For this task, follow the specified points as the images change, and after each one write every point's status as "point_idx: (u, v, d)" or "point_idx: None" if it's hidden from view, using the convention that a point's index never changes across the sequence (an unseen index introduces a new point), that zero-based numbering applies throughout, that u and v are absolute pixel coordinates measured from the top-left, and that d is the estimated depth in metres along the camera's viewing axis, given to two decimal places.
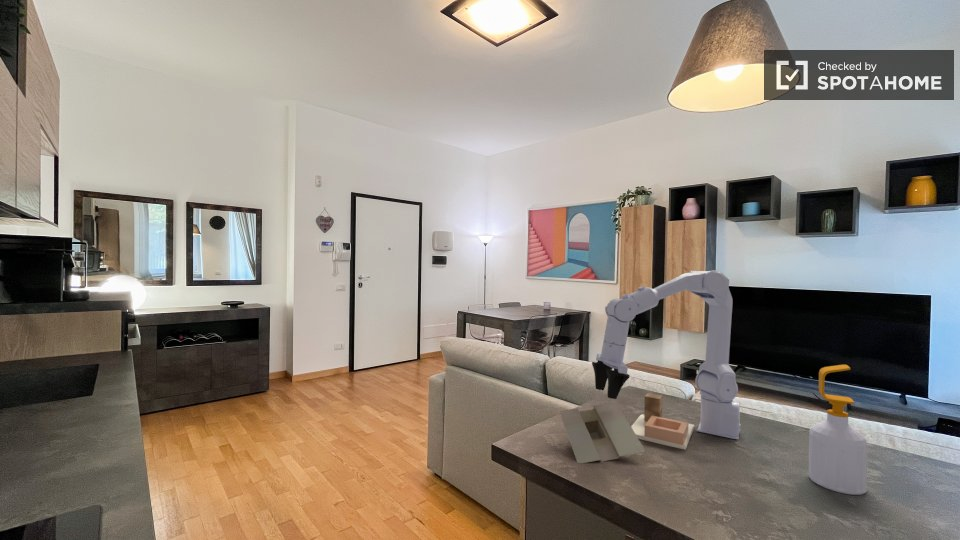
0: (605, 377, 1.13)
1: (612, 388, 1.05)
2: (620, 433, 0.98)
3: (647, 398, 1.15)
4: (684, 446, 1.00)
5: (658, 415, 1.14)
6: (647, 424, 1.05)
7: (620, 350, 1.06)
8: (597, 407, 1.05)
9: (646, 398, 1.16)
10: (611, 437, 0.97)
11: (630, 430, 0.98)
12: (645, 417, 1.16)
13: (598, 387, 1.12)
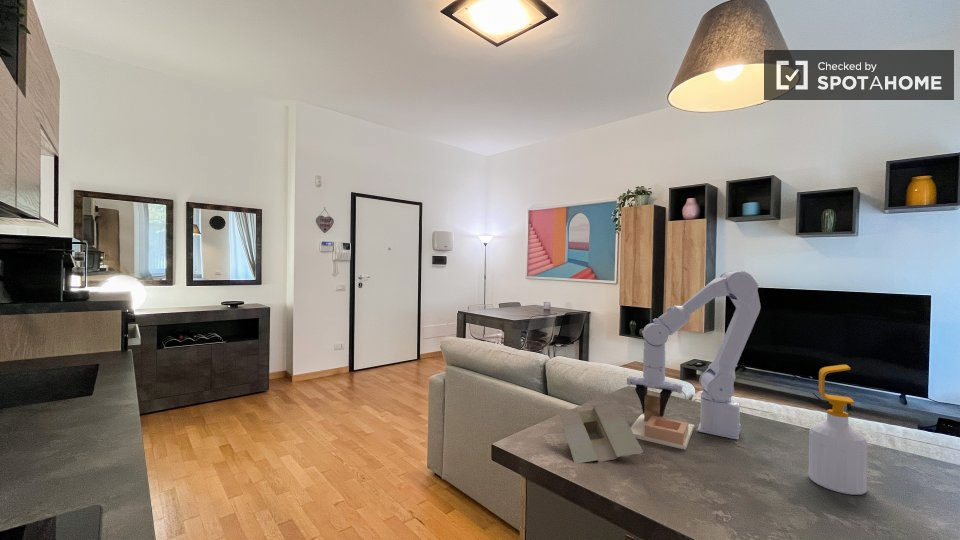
0: None
1: None
2: (618, 434, 0.97)
3: (647, 398, 1.15)
4: (684, 446, 1.00)
5: (658, 415, 1.14)
6: (647, 424, 1.05)
7: None
8: (597, 407, 1.05)
9: (646, 398, 1.16)
10: (609, 438, 0.97)
11: (629, 431, 0.98)
12: (645, 417, 1.16)
13: None
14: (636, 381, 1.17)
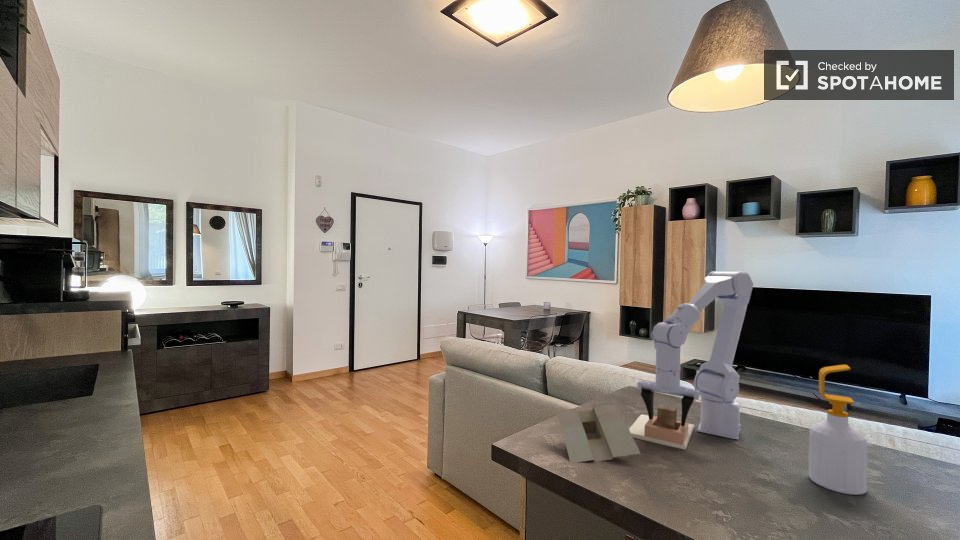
0: (652, 404, 1.09)
1: None
2: (616, 434, 0.97)
3: (660, 410, 1.05)
4: (684, 446, 1.00)
5: None
6: (647, 424, 1.05)
7: (679, 375, 1.05)
8: (596, 407, 1.05)
9: (659, 410, 1.05)
10: (607, 438, 0.96)
11: (627, 432, 0.97)
12: None
13: (652, 417, 1.08)
14: (648, 386, 1.07)
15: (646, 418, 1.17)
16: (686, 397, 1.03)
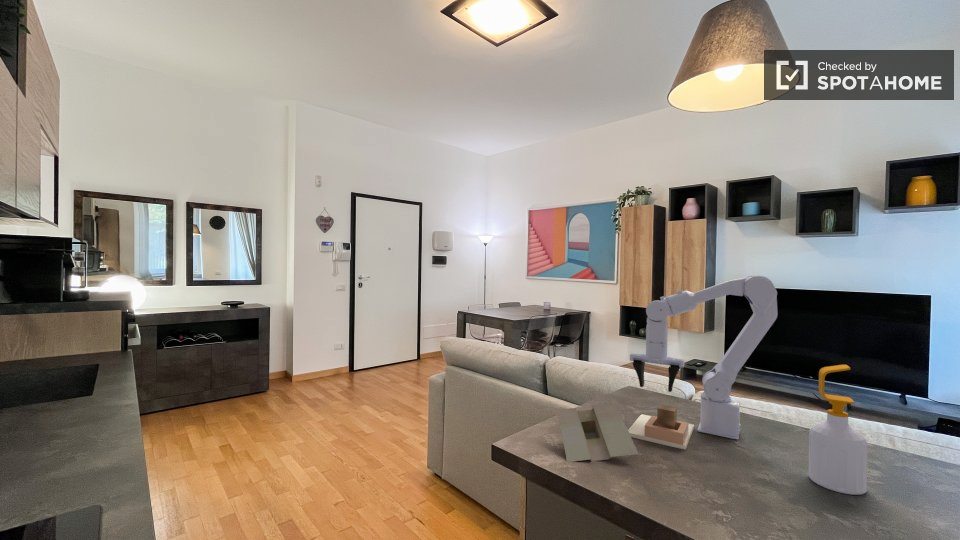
0: (643, 373, 1.22)
1: (671, 382, 1.16)
2: (615, 434, 0.97)
3: (660, 410, 1.05)
4: (684, 446, 1.00)
5: None
6: (647, 424, 1.05)
7: None
8: (596, 407, 1.05)
9: (659, 410, 1.05)
10: (605, 438, 0.96)
11: (625, 432, 0.97)
12: None
13: (642, 384, 1.20)
14: (639, 357, 1.20)
15: (646, 418, 1.17)
16: (672, 366, 1.16)
